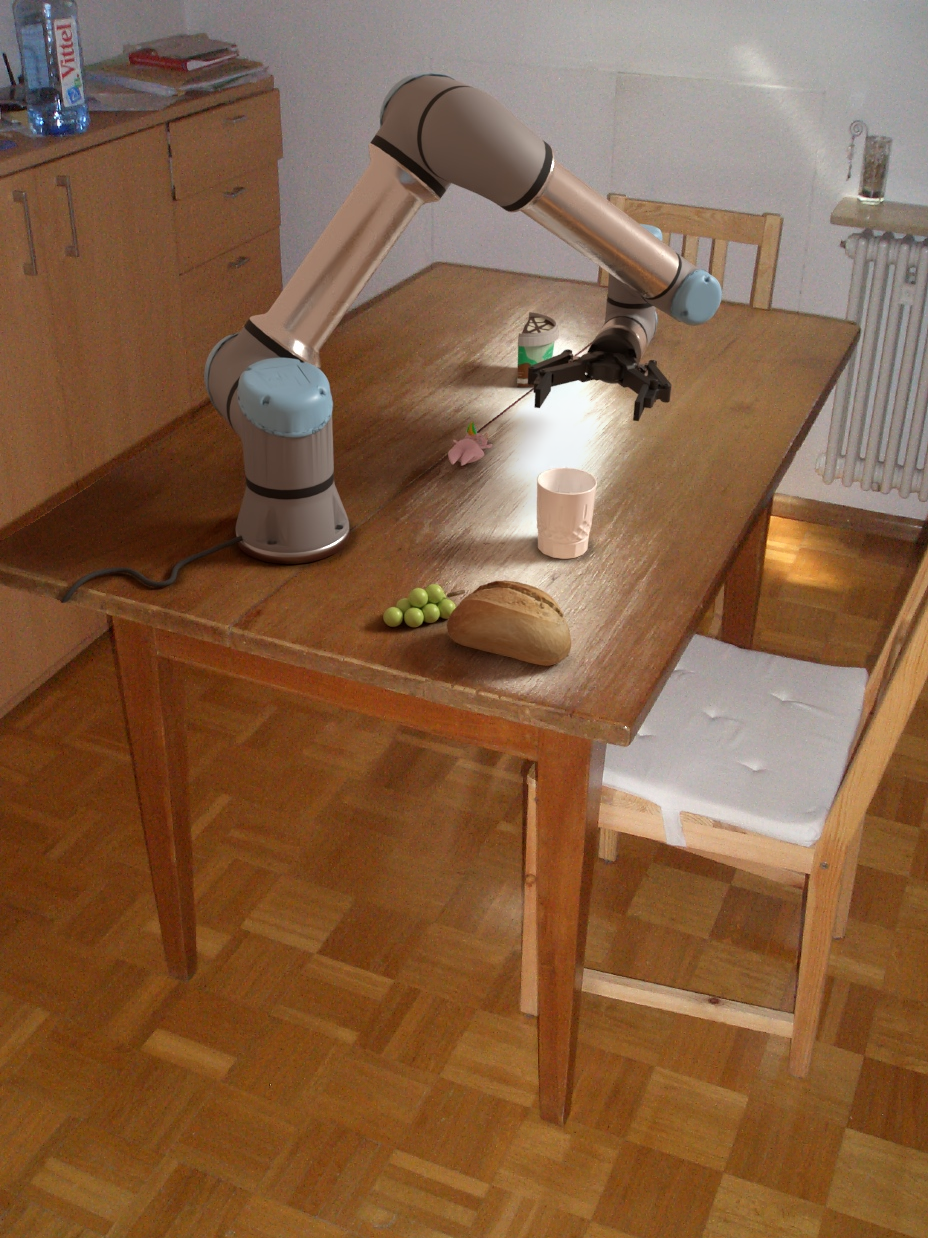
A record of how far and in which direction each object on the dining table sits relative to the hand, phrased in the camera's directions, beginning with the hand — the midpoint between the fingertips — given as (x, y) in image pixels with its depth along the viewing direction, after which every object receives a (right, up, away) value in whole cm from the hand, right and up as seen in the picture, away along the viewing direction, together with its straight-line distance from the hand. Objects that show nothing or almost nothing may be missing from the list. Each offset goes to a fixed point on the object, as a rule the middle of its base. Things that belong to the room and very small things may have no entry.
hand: (586, 405), depth 170 cm
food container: (-3, +13, +52) cm, 54 cm away
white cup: (-3, -19, +1) cm, 20 cm away
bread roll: (-11, -33, -20) cm, 40 cm away
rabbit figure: (-16, -5, +24) cm, 29 cm away
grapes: (-22, -29, -15) cm, 39 cm away
